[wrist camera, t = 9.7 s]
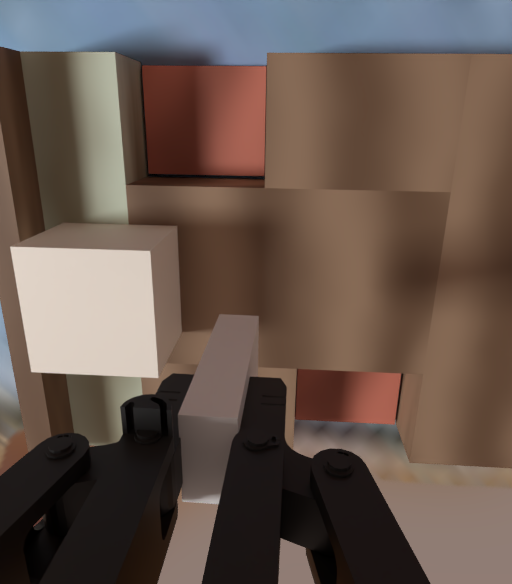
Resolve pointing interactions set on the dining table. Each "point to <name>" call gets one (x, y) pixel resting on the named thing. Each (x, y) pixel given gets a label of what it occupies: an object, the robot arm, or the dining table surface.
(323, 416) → the wooden board
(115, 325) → the block
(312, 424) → the dining table surface
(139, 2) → the dining table surface
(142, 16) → the dining table surface
